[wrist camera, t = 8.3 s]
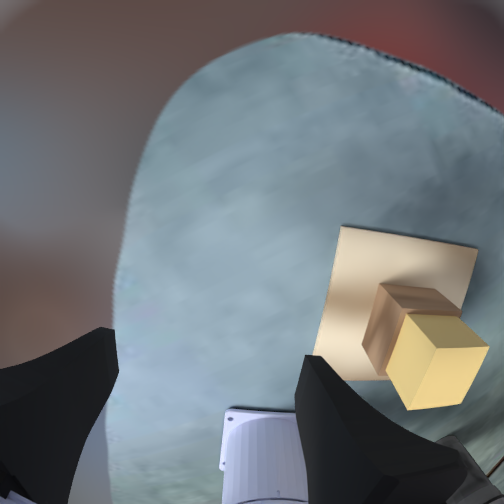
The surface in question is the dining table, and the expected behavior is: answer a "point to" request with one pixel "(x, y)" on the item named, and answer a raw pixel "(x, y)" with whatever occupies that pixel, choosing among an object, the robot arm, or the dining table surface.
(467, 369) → the ochre block
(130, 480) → the dining table surface
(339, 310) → the build board
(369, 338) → the walnut block
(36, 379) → the robot arm
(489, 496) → the beverage cup
